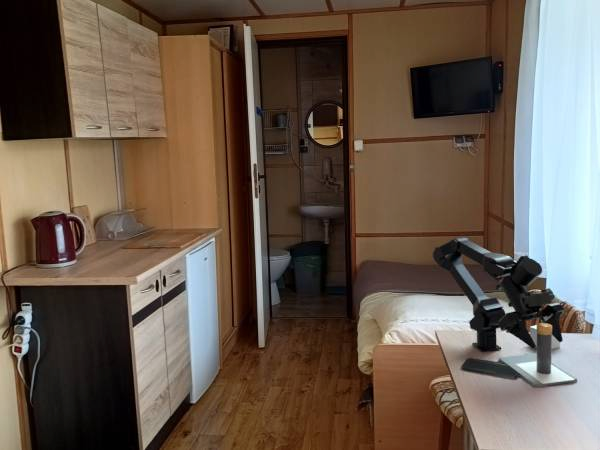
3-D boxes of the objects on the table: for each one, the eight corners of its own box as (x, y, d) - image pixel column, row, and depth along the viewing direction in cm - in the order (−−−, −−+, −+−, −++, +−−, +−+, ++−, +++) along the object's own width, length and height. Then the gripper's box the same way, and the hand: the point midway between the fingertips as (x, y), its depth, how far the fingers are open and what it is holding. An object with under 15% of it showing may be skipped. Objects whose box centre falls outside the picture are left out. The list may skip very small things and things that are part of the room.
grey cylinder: (533, 370, 144) (533, 325, 142) (541, 367, 146) (542, 322, 144) (545, 375, 141) (546, 328, 139) (554, 371, 142) (555, 325, 141)
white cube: (529, 345, 164) (529, 326, 163) (543, 341, 166) (543, 323, 166) (546, 351, 159) (546, 332, 158) (560, 347, 161) (560, 328, 160)
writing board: (498, 360, 154) (498, 357, 154) (536, 355, 156) (536, 352, 156) (535, 387, 136) (535, 384, 136) (578, 382, 138) (578, 379, 137)
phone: (467, 357, 156) (522, 365, 148) (467, 361, 156) (522, 369, 148) (460, 367, 149) (516, 376, 141) (460, 371, 149) (516, 380, 141)
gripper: (505, 284, 140) (537, 337, 131) (559, 274, 146) (593, 324, 138) (485, 305, 148) (514, 356, 140) (537, 295, 155) (567, 343, 146)
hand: (548, 344), depth 141 cm, fingers open, 9 cm apart
